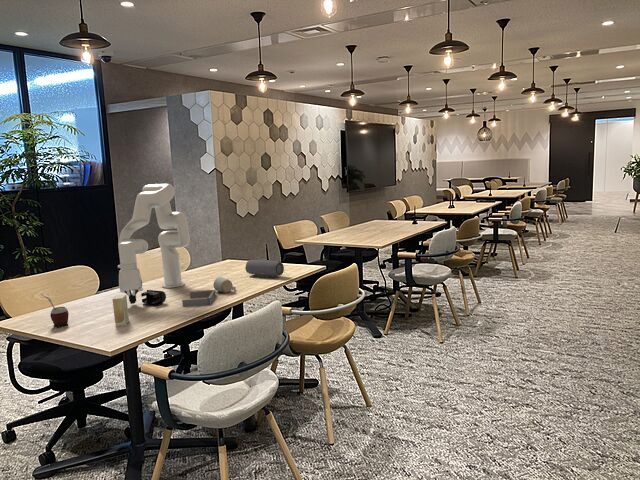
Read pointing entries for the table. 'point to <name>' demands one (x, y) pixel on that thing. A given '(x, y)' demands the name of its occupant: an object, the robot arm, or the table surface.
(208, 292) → the tray
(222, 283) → the ceramic mug
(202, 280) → the table surface
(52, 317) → the mate gourd
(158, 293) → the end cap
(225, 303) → the table surface
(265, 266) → the bluetooth speaker
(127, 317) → the skincare box
